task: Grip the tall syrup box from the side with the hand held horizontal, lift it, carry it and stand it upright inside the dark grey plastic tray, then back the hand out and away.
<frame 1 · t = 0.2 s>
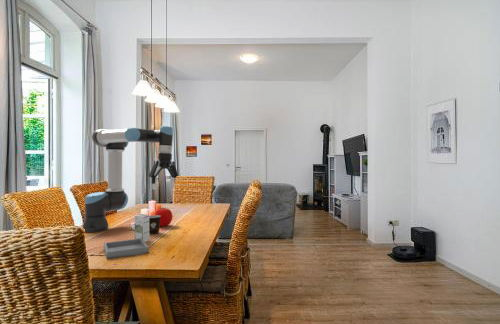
hand: (163, 188, 178), 28 cm above the table, tool pointing down, fingers open, 13 cm apart
coffee mug: (150, 233, 184), on the table
syrup box: (142, 241, 166), on the table
tomato: (163, 226, 203), on the table
tray: (125, 250, 148), on the table
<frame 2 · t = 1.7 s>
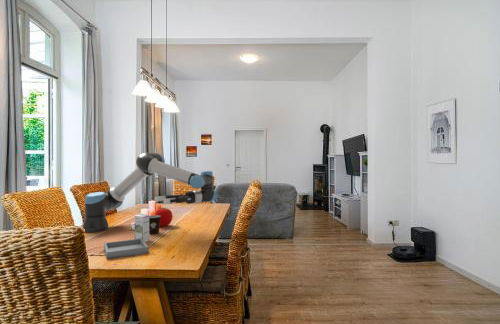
hand: (159, 200, 172), 22 cm above the table, tool horizontal, fingers open, 13 cm apart
nothing on the table moved.
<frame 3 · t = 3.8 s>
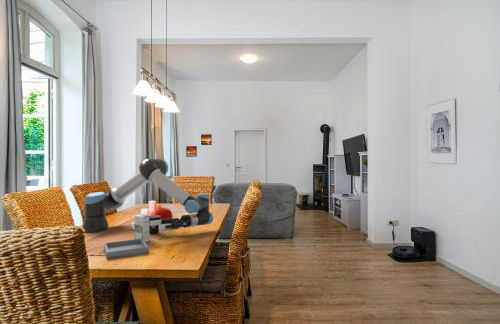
hand: (154, 225, 170), 8 cm above the table, tool horizontal, fingers open, 13 cm apart
nothing on the table moved.
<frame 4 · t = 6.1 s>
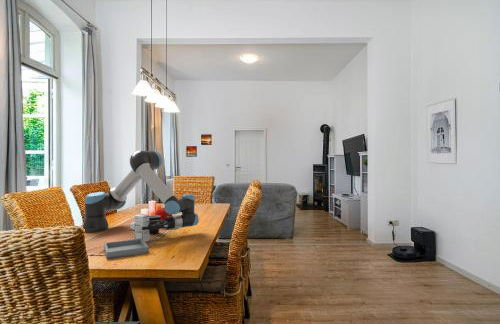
hand: (133, 227, 163), 8 cm above the table, tool horizontal, fingers closed on syrup box, 8 cm apart
syrup box: (142, 241, 166), on the table, touching gripper
everything else where it was.
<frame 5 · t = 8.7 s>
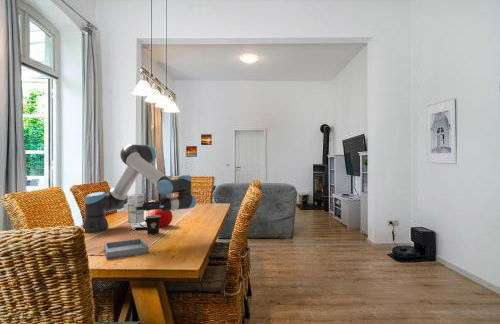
hand: (126, 208, 153), 20 cm above the table, tool horizontal, fingers closed on syrup box, 8 cm apart
syrup box: (136, 222, 157), point 12 cm above the table, touching gripper
everything else where it was.
when the fingers open (10 cm above the table, at t = 11.5 s): syrup box drops 1 cm, resting on tray.
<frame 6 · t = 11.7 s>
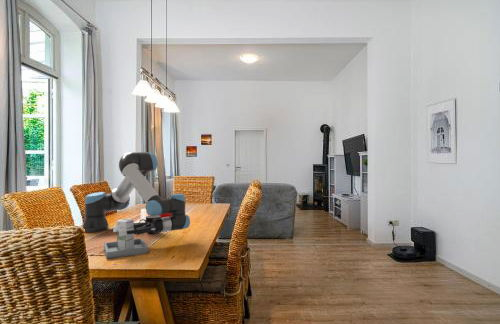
hand: (116, 231, 145), 10 cm above the table, tool horizontal, fingers open, 10 cm apart
syrup box: (125, 249, 148), point 1 cm above the table, touching tray
everything else where it was.
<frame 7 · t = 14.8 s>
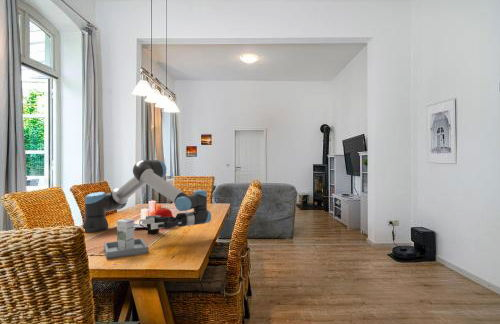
hand: (146, 224, 155), 11 cm above the table, tool horizontal, fingers open, 13 cm apart
nothing on the table moved.
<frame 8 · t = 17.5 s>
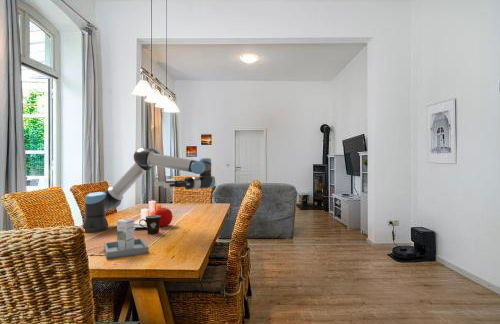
hand: (159, 184, 177), 30 cm above the table, tool horizontal, fingers open, 13 cm apart
nothing on the table moved.
at the end: syrup box inside the target area on the tray (0.2 cm from its centre), point 0.6 cm above the tray's base; syrup box tilted 0°; the gripper is holding nothing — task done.
